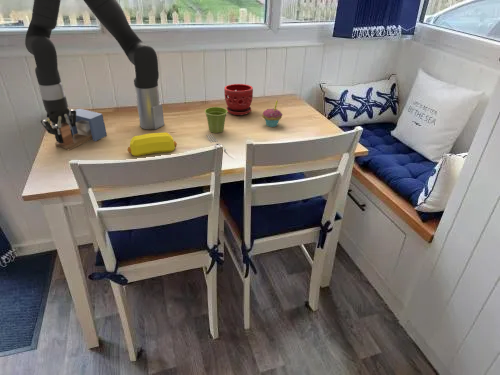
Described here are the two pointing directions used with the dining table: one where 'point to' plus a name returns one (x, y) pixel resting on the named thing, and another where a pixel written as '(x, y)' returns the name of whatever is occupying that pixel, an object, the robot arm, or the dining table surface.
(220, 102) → the dining table surface
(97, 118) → the tunnel
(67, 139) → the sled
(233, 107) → the plant pot
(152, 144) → the hot dog
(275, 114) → the cupcake
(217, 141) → the fork
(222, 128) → the plant pot
